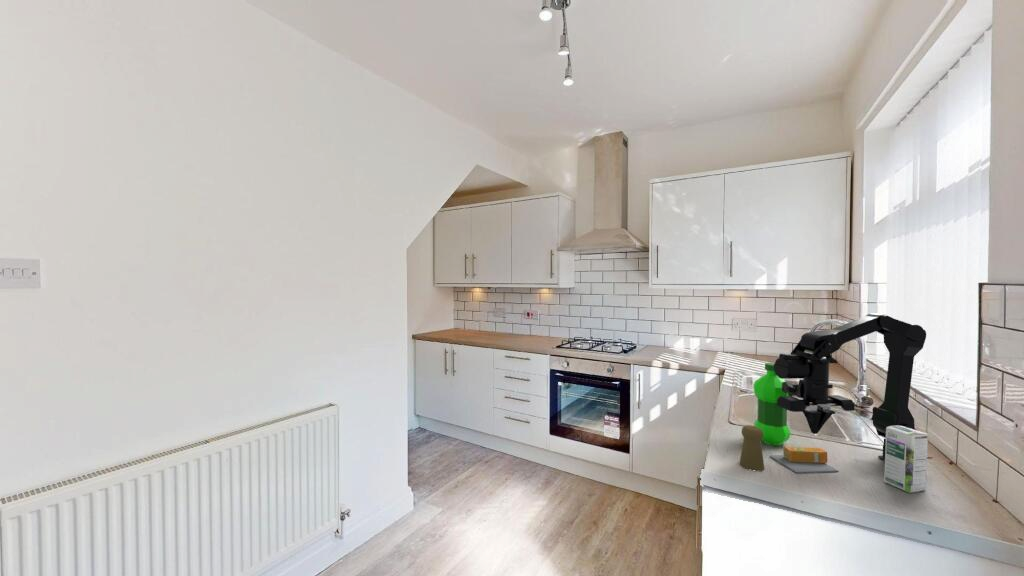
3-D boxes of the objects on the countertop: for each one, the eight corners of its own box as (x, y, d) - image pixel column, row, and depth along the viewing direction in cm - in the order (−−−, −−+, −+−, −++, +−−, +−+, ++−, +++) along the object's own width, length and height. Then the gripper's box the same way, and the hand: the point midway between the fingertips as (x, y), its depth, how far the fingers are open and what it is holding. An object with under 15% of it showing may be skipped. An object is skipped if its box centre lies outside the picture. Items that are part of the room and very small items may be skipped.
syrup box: (882, 481, 103) (884, 426, 102) (900, 479, 104) (901, 424, 104) (909, 493, 97) (911, 434, 97) (927, 490, 99) (929, 432, 98)
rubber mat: (808, 455, 118) (808, 454, 118) (838, 472, 108) (838, 470, 108) (769, 456, 117) (769, 455, 117) (796, 473, 107) (796, 471, 107)
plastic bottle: (786, 438, 130) (788, 362, 130) (793, 451, 121) (795, 369, 120) (751, 433, 135) (752, 359, 134) (755, 445, 125) (756, 366, 124)
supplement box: (827, 451, 112) (789, 450, 113) (828, 463, 112) (789, 463, 113) (819, 446, 115) (782, 446, 116) (820, 458, 115) (783, 458, 116)
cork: (766, 465, 112) (767, 426, 111) (761, 473, 107) (762, 432, 107) (742, 458, 116) (743, 421, 116) (736, 466, 111) (737, 427, 111)
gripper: (823, 371, 121) (821, 422, 121) (764, 371, 120) (762, 423, 120) (857, 380, 110) (855, 437, 110) (792, 381, 108) (791, 438, 109)
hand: (814, 433), depth 113 cm, fingers closed
